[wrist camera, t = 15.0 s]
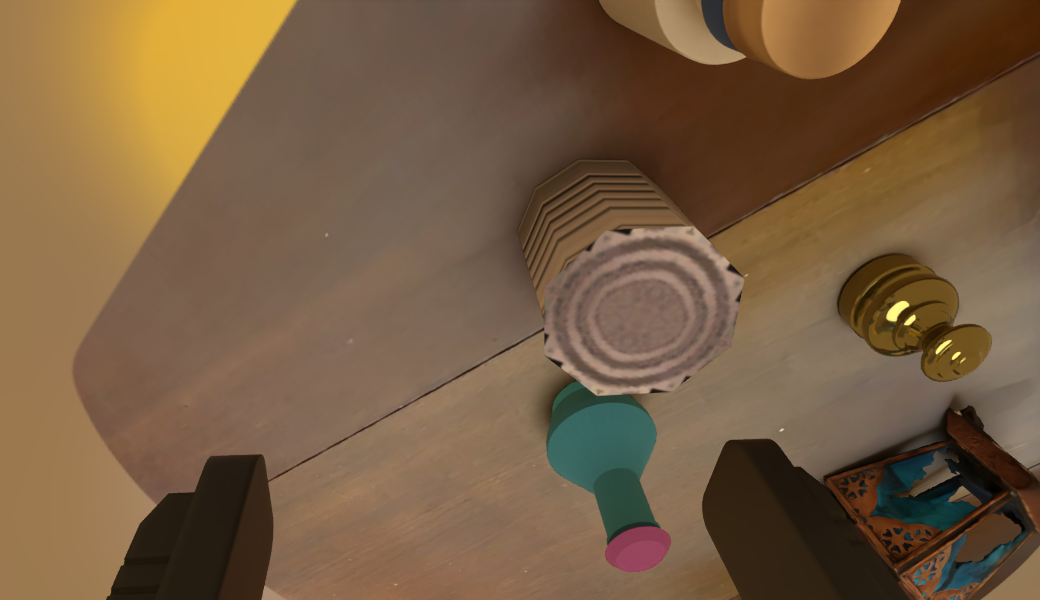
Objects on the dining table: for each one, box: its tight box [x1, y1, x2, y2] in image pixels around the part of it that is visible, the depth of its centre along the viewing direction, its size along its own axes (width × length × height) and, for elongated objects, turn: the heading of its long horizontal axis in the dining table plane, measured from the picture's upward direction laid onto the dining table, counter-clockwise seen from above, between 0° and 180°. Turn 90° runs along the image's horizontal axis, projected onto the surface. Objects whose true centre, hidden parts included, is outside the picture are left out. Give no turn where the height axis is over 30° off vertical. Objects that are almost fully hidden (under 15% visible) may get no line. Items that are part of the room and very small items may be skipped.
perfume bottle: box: [546, 381, 671, 572], centre depth 46 cm, size 9×9×15 cm
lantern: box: [824, 406, 1040, 600], centre depth 60 cm, size 16×16×25 cm
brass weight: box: [839, 255, 992, 382], centre depth 46 cm, size 7×7×10 cm
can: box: [517, 159, 744, 396], centre depth 38 cm, size 11×11×12 cm
